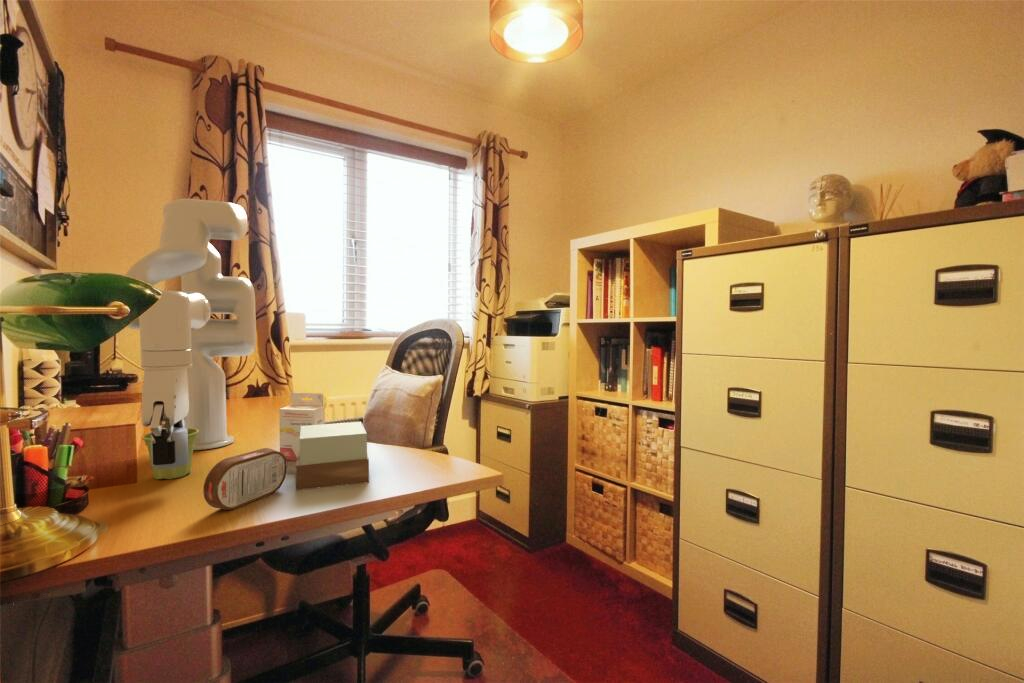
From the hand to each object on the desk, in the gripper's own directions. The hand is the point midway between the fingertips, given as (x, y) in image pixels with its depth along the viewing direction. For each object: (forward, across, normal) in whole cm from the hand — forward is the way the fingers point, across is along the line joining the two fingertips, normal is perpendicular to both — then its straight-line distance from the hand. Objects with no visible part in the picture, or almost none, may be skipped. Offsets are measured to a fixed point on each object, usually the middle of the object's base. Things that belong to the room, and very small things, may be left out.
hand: (170, 457), depth 89 cm
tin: (+6, +10, +14) cm, 18 cm away
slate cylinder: (+1, 0, 0) cm, 1 cm away
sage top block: (+2, 0, +28) cm, 28 cm away
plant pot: (+7, -11, -3) cm, 13 cm away
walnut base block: (+7, 0, +28) cm, 29 cm away
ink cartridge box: (+7, -16, +21) cm, 28 cm away
